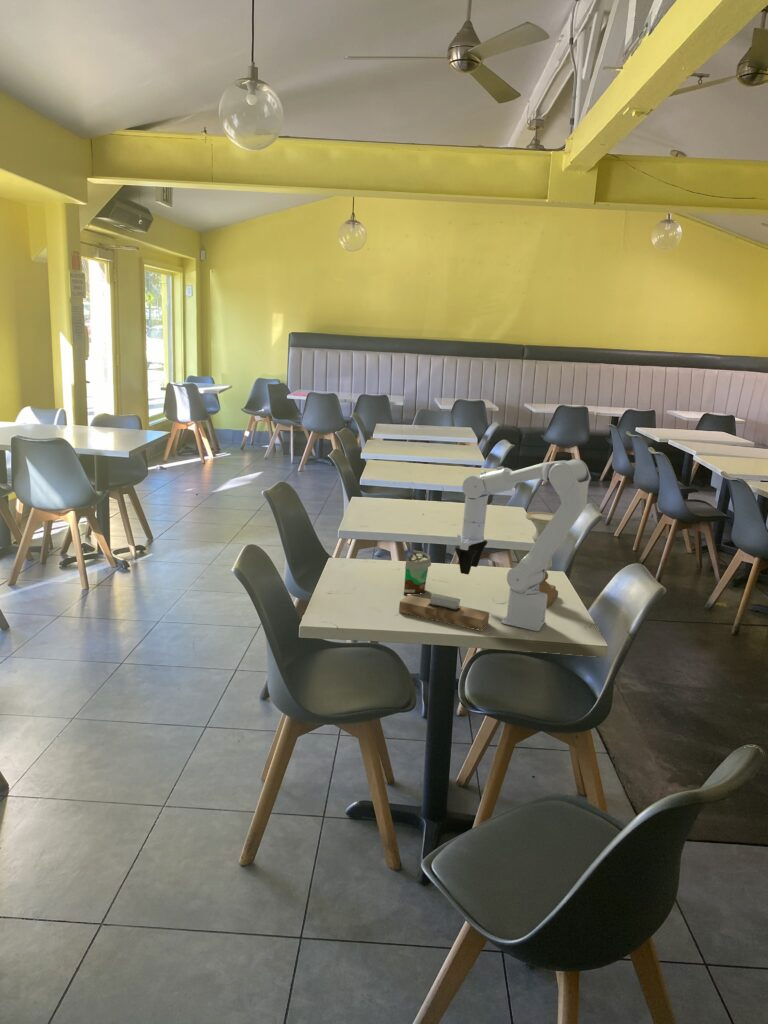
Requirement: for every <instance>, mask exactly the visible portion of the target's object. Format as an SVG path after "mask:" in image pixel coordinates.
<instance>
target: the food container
mask: <svg viewBox="0 0 768 1024" xmlns="http://www.w3.org/2000/svg"><path fill="white" fill-rule="evenodd" d="M430 557H431V556H430V555H429V554H427V553H425V552H423V551H419V550H415V549H413V550H412V555H411V556H409V559H408V560H405V567H404V569H405V572H404V588H403V595H404V594H419V595H421V594H420V593H422V594H424V593H425V589H426V582H427V577H428V572H429V567H431V565H432V562H431V558H430ZM423 592H424V593H423Z"/></svg>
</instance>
